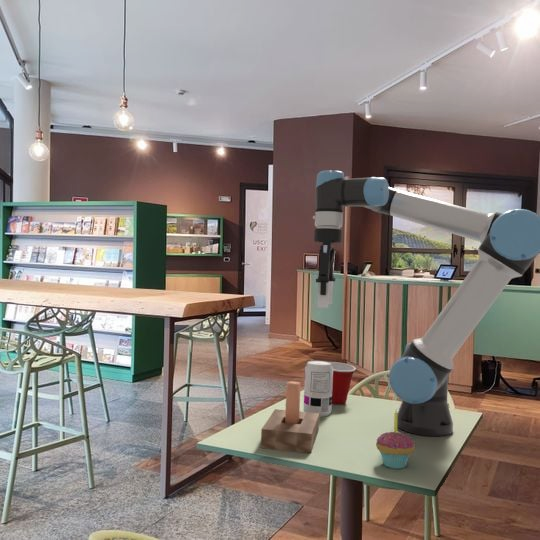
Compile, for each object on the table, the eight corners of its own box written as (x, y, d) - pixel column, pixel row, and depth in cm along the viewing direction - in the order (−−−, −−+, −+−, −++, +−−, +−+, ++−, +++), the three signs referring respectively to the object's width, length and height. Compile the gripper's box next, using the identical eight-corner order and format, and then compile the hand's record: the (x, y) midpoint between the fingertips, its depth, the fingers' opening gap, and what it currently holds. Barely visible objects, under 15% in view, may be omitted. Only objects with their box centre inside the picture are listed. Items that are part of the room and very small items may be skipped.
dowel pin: (299, 436, 138) (301, 382, 138) (297, 441, 134) (299, 385, 134) (285, 435, 138) (287, 381, 138) (283, 439, 135) (285, 384, 135)
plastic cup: (341, 408, 166) (342, 369, 166) (313, 401, 174) (315, 364, 174) (361, 403, 174) (362, 365, 174) (334, 396, 182) (335, 360, 181)
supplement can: (297, 413, 160) (299, 362, 159) (314, 408, 166) (316, 359, 166) (320, 419, 154) (322, 366, 154) (336, 413, 161) (338, 363, 160)
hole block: (318, 430, 144) (319, 413, 144) (311, 453, 126) (311, 433, 126) (274, 425, 146) (274, 409, 146) (260, 447, 129) (261, 428, 128)
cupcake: (373, 456, 126) (375, 405, 125) (411, 459, 125) (413, 407, 124) (377, 470, 117) (379, 415, 117) (417, 473, 116) (419, 418, 116)
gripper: (318, 230, 161) (316, 302, 161) (309, 224, 137) (306, 308, 137) (344, 231, 160) (341, 303, 160) (339, 225, 135) (335, 310, 135)
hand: (325, 306), depth 148 cm, fingers open, 13 cm apart
